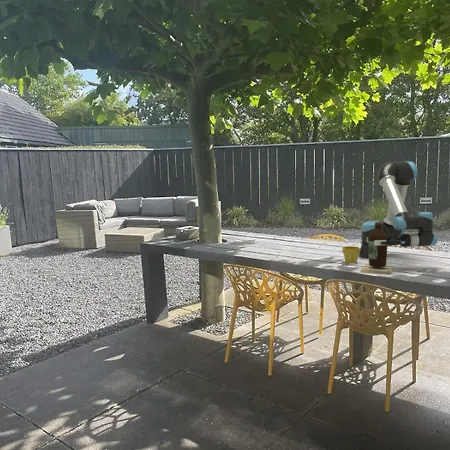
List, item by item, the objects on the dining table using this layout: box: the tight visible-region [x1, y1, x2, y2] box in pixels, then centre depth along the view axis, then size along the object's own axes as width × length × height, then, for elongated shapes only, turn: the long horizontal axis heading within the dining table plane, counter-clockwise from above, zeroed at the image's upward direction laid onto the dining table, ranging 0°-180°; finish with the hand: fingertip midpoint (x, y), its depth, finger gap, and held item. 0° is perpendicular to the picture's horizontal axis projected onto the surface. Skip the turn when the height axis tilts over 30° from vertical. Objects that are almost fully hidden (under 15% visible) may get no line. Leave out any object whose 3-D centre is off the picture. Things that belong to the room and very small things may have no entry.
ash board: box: [360, 263, 395, 276], centre depth 246 cm, size 16×16×2 cm
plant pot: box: [341, 245, 361, 264], centre depth 268 cm, size 10×10×10 cm
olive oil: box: [368, 221, 388, 267], centre depth 244 cm, size 11×11×25 cm
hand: (370, 241), depth 244 cm, fingers open, 11 cm apart
